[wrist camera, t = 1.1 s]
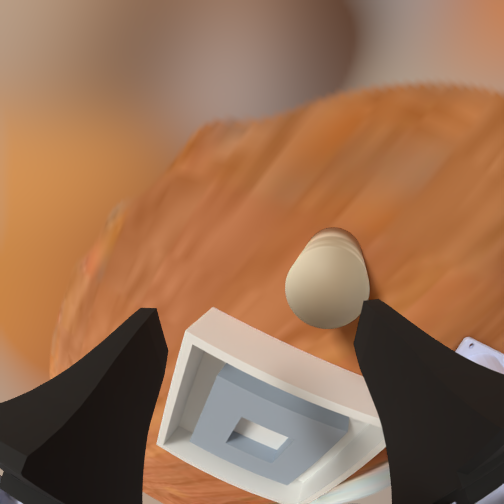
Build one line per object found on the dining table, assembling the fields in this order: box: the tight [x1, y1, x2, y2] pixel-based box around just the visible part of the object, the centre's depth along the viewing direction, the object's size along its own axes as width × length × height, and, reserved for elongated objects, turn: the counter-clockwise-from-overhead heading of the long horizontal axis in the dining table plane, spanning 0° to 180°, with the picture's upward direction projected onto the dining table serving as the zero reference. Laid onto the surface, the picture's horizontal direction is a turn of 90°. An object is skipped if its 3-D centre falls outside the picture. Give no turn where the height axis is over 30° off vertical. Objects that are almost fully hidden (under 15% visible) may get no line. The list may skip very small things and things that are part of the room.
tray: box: [157, 307, 386, 504], centre depth 22 cm, size 18×18×4 cm
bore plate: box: [189, 363, 349, 485], centre depth 23 cm, size 12×12×2 cm
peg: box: [285, 228, 370, 329], centre depth 16 cm, size 4×4×7 cm
